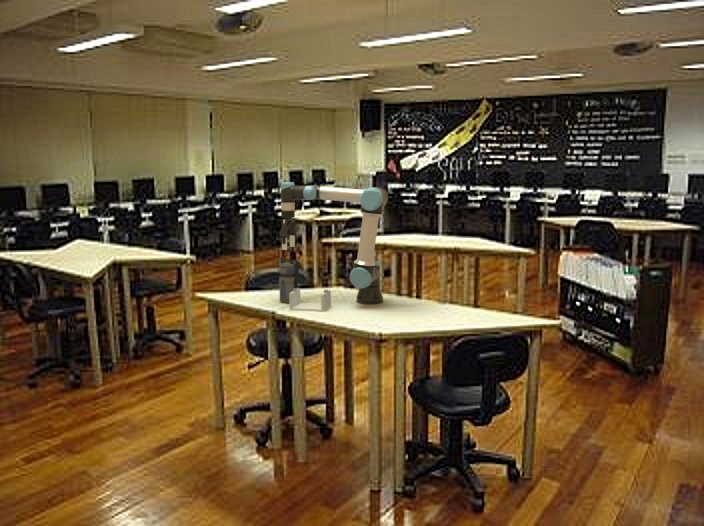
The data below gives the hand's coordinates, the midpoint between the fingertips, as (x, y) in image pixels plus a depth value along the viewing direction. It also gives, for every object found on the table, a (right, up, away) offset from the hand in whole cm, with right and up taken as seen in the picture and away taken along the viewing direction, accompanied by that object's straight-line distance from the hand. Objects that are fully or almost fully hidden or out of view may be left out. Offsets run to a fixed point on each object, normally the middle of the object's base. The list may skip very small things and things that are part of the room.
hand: (288, 248), depth 347 cm
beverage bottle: (0, -30, +4) cm, 31 cm away
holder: (+13, -32, -12) cm, 37 cm away
